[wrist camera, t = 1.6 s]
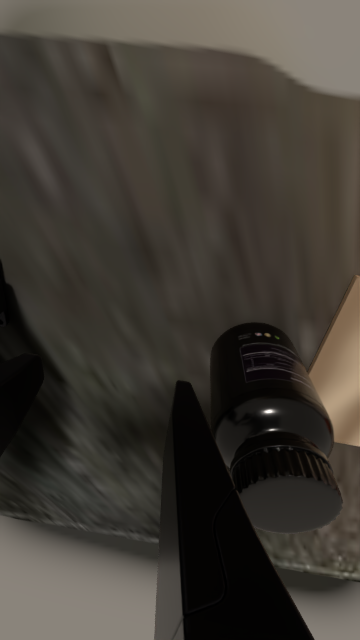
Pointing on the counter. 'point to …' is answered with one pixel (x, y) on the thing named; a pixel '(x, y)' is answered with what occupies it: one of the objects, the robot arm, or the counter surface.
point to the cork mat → (341, 368)
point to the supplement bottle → (272, 430)
